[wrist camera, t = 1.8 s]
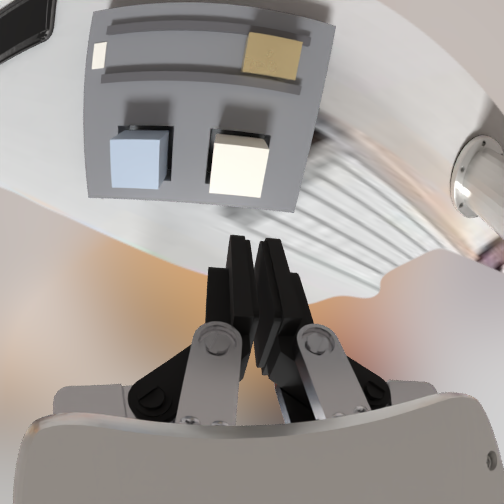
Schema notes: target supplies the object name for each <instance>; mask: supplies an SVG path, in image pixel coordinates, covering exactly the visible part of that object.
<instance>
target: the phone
mask: <svg viewBox="0 0 504 504" xmlns="http://www.w3.org/2000/svg"><path fill="white" fill-rule="evenodd" d="M55 8H56V0H16V1H14V2H13V3H11V4H10V5H8V6H7V7H5V8H4V9H2V10H1V11H0V64H2V63H4V62H5V61H7V60H9V59H11V58H13V57H14V56H16V55H18V54H20V53H22V52H24V51H26V50H28V49H30V48H32V47H34V46H36V45H38V44H40V43H42V42H45V41H46V40H48V39H49V38H50V36H51V35H52V33H53V29H54V17H55Z"/></svg>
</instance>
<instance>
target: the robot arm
mask: <svg viewBox="0 0 504 504" xmlns="http://www.w3.org/2000/svg"><path fill="white" fill-rule="evenodd" d="M451 199H452V202H453V205H454V207H455V208H456V210H457V211H458V212H459V213H460V214H461V215H463V216H464V217H467V218H475V217H478V216H479V217H480V218H481V219H482V220H483V221H485V222H486V223H487V224H488V225H489V226H490V227H491V228H492V229H493V230H494V231H495V232H496V233H497V234H498V235H499V236H500V237H501V238H502V239H503V240H504V153H503V150H502V148H501V146H500V144H499V143H498V142H497V141H496V140H495V139H493V138H491V137H489V136H486V135H480V136H477V137H475V138H473V139H472V140H470V141H469V142H468V143H467V144H466V145H465V147H464V148H463V150H462V151H461V153H460V155H459V156H458V158H457V161H456V163H455V166H454V169H453V173H452V179H451ZM253 341H254V349H255V358H256V366H257V367H258V368H259V367H260V368H261V369H262V375H268V377H269V379H270V380H272V381H273V382H274V386H275V391H276V394H277V398H278V401H279V405H280V408H281V411H282V415H283V418H284V421H285V424H275V425H256V426H236V413H237V400H238V389H239V382H240V381H241V380H242V379H243V377H244V373H245V370H246V366H247V363H248V359H249V356H250V353H251V348H252V344H253ZM13 504H504V468H503V464H502V460H501V456H500V452H499V448H498V445H497V441H496V438H495V436H494V432H493V430H492V427H491V424H490V422H489V419H488V417H487V415H486V413H485V411H484V409H483V407H482V405H481V404H480V403H479V402H478V400H477V399H475V398H474V397H472V396H470V395H467V394H463V393H454V392H445V393H437V391H436V389H435V388H434V386H433V385H431V384H430V383H427V382H416V381H399V380H388V381H387V382H385V381H384V380H383V379H382V378H381V377H379V376H378V375H376V374H374V373H373V372H371V371H370V370H368V369H366V368H365V367H363V366H362V365H360V364H359V363H357V362H356V361H354V360H352V359H351V358H349V357H348V356H346V354H345V352H344V350H343V348H342V346H341V344H340V342H339V340H338V338H337V336H336V335H335V333H334V332H333V331H332V330H330V329H329V328H327V327H325V326H323V325H319V324H314V323H313V319H312V316H311V313H310V309H309V306H308V303H307V299H306V296H305V293H304V290H303V286H302V283H301V280H300V277H299V275H298V274H297V273H290V270H289V267H288V263H287V260H286V256H285V253H284V250H283V246H282V243H281V240H280V239H273V238H266V239H265V241H260V244H259V248H258V253H257V258H256V263H255V267H253V259H252V252H251V245H250V240H245V236H238V235H230V240H229V247H228V255H227V263H226V268H214V267H209V268H208V282H207V299H206V319H205V324H203V325H201V326H200V327H199V328H198V329H197V330H196V331H195V334H194V336H193V340H192V344H191V345H190V346H189V347H187V348H186V349H184V350H183V351H181V352H180V353H178V354H177V355H176V356H174V357H173V358H171V359H170V360H168V361H167V362H165V363H164V364H162V365H161V366H160V367H158V368H156V369H155V370H153V371H152V372H150V373H149V374H148V375H146V376H144V377H143V378H141V379H140V380H138V381H137V382H136V383H135V384H134V385H131V386H122V385H121V384H113V385H92V386H68V387H63V388H62V389H60V390H59V391H58V392H57V393H56V395H55V396H54V402H53V415H48V416H45V417H42V418H39V419H37V420H35V421H34V422H33V423H32V424H31V425H30V426H29V427H28V429H27V431H26V433H25V435H24V437H23V440H22V442H21V446H20V449H19V453H18V458H17V463H16V470H15V479H14V488H13Z"/></svg>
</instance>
